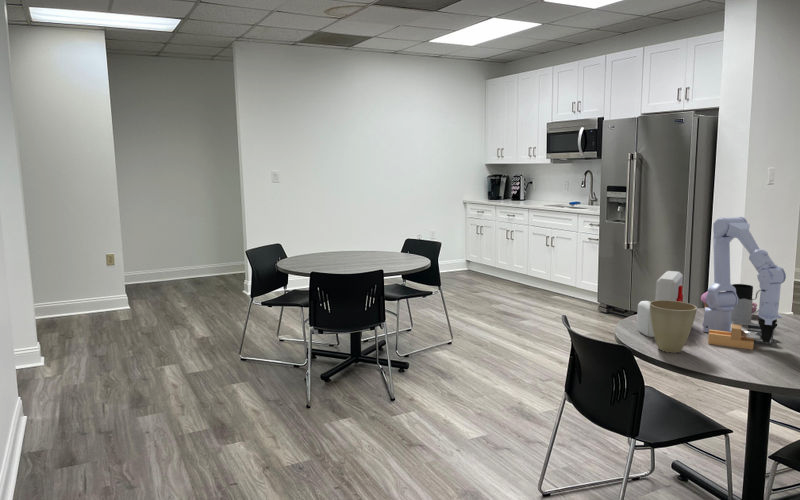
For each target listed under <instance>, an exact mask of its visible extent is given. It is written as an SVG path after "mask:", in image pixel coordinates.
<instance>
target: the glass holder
mask: <svg viewBox="0 0 800 500" xmlns="http://www.w3.org/2000/svg"><path fill="white" fill-rule="evenodd" d="M731 285H732V286H734V287H735V288H736V294H737V297H738V303H737V305H736V306H735V307H734V309H733V310H732V317H731V324H736V325H742V326H747V324H748V323H749V324H753V323H752V317H753V316H754V315H755V314H757V313H759V308H757V309H756V311H755V312H754V313H753V314H751V313H752V303H753V301H754V300H757V298H758V294H759V293H760V292H761V289H758V290H757V291H756V293H755V297H754V298H753V295H754V293H753V292H754V286H753V285H751V284H744V283H731ZM756 312H757V313H756Z"/></svg>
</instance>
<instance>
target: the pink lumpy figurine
mask: <svg viewBox="0 0 800 500" xmlns="http://www.w3.org/2000/svg"><path fill="white" fill-rule="evenodd" d="M757 307H758V304H757V303H756V302H752V313H751V314H753V313H754V312H755V311H757V310H758V308H757ZM755 314H758V312H756V313H755Z"/></svg>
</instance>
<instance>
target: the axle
mask: <svg viewBox="0 0 800 500" xmlns="http://www.w3.org/2000/svg"><path fill="white" fill-rule="evenodd" d="M741 339H747V340H755V341H762V333H760V332H752V331H747V330H744V329H743V330H742V329H741ZM770 342H771V340H770Z"/></svg>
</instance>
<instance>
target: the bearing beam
mask: <svg viewBox="0 0 800 500" xmlns="http://www.w3.org/2000/svg"><path fill="white" fill-rule="evenodd" d="M742 326H743V325H738V324H733V323H731V332H727V331H718V330H709V332H708V338H707V339H708V340H707V344H708V343H709V344H710V345H715V346H724V347H731V348H739V349H746V350H754V344H755V343H754V340H747V339H741V330H742ZM709 344H708V345H709Z"/></svg>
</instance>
